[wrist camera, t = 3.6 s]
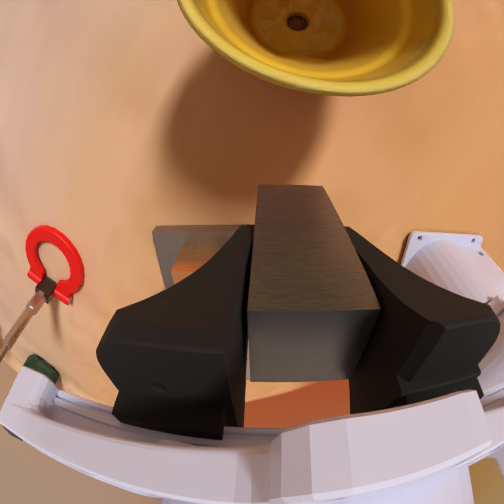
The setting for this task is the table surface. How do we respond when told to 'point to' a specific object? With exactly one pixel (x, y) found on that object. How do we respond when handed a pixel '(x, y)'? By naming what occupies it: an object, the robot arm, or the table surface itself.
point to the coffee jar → (43, 368)
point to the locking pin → (305, 290)
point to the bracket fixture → (189, 251)
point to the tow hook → (46, 279)
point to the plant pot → (327, 41)
